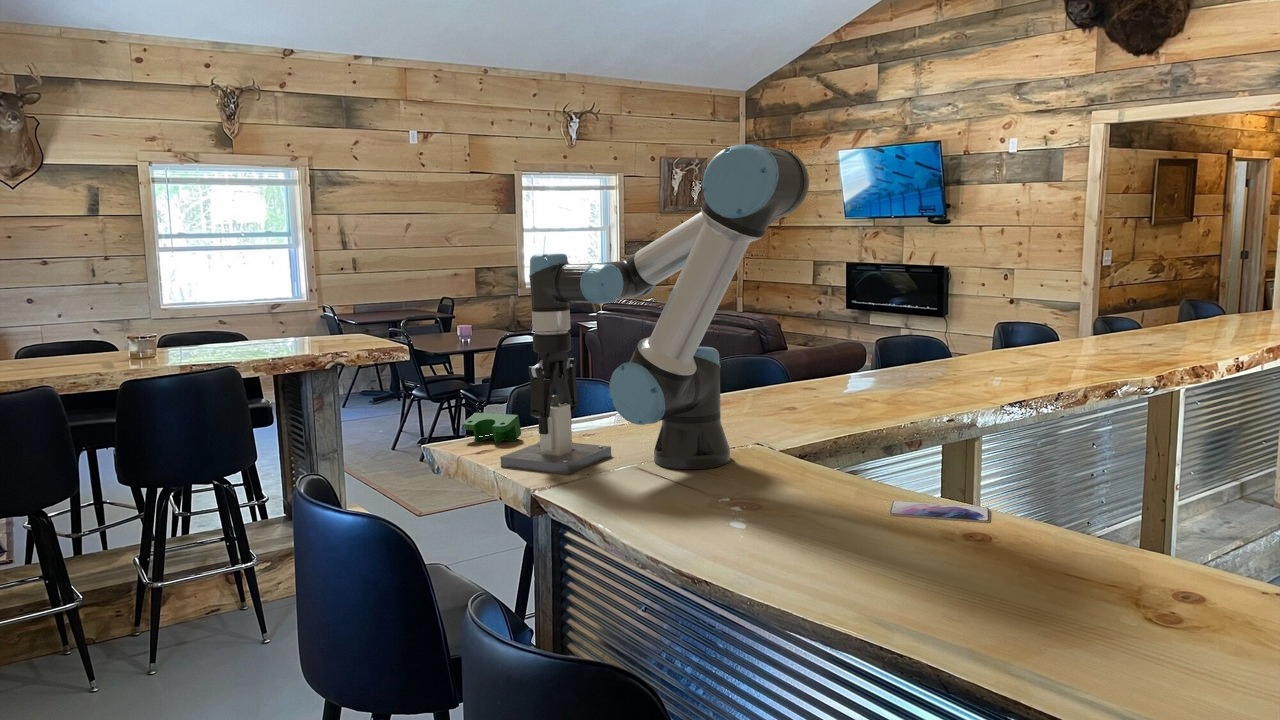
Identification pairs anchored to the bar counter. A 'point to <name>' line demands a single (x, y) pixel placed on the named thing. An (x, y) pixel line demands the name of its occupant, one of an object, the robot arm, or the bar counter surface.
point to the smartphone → (940, 511)
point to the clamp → (494, 426)
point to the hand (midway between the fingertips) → (556, 445)
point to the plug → (560, 428)
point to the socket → (556, 458)
